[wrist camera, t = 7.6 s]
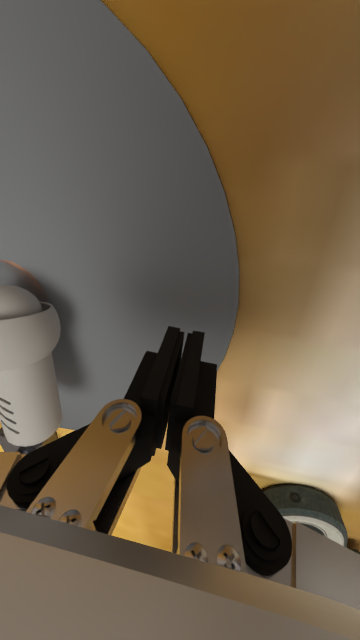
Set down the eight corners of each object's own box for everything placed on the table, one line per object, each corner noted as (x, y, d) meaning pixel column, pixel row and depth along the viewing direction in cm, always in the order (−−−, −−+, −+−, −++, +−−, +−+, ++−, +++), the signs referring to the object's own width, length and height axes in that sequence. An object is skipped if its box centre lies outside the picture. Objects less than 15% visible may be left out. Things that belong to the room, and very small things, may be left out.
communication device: (368, 477, 21) (453, 641, 13) (350, 572, 31) (391, 694, 24) (235, 474, 24) (241, 605, 16) (259, 561, 34) (270, 666, 27)
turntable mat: (-417, -91, 9) (-429, -96, 9) (343, -92, 7) (346, -99, 6) (-70, 397, 25) (-72, 398, 25) (200, 456, 22) (200, 458, 22)
